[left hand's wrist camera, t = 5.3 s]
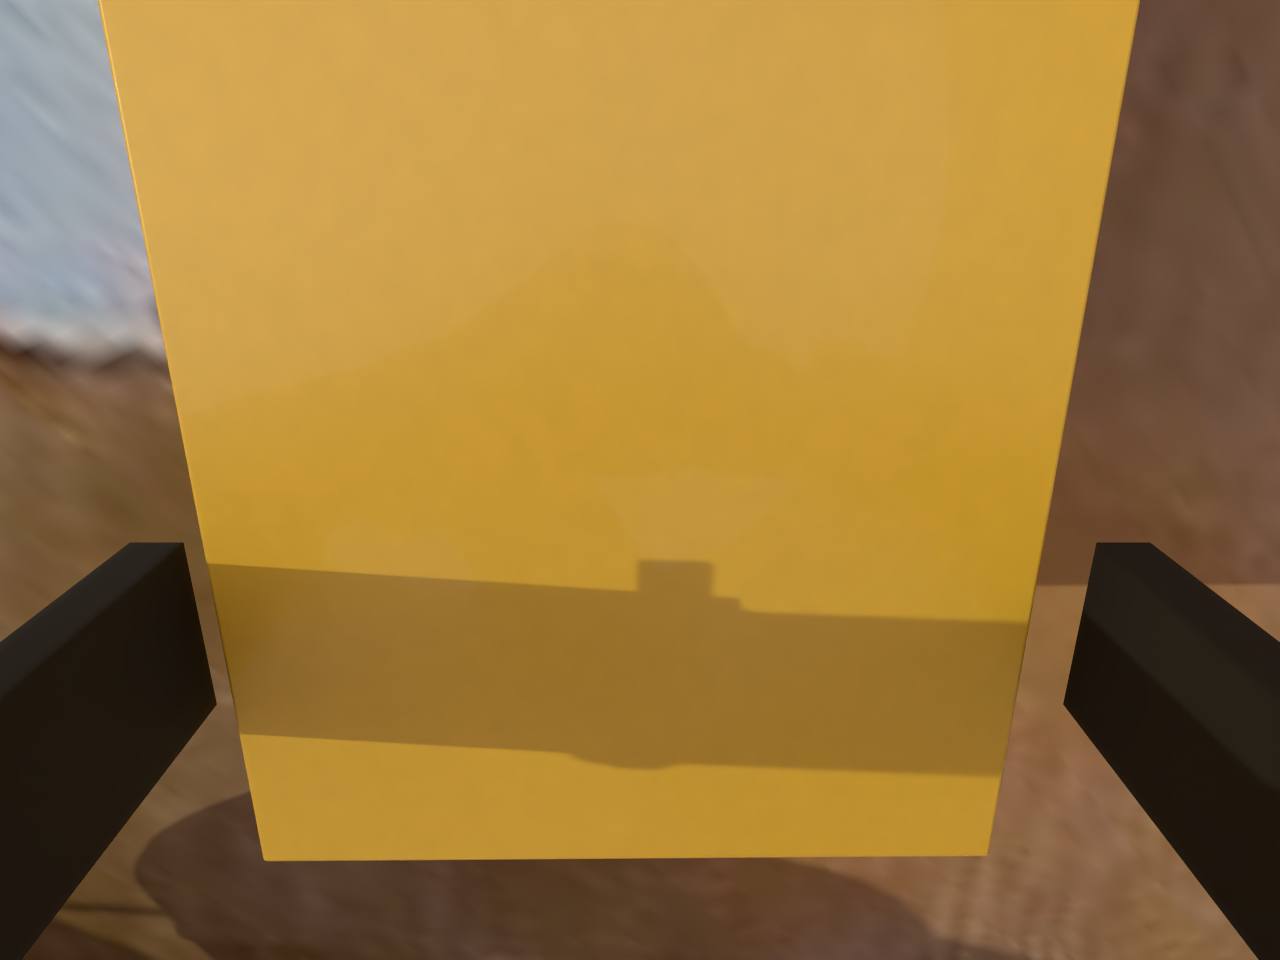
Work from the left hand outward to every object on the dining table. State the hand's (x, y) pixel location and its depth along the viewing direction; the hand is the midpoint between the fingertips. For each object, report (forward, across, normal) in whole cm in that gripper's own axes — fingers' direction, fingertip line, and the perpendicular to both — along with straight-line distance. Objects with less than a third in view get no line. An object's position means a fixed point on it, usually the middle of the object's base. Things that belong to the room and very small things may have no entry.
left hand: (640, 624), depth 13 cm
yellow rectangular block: (+11, 0, -7) cm, 13 cm away
